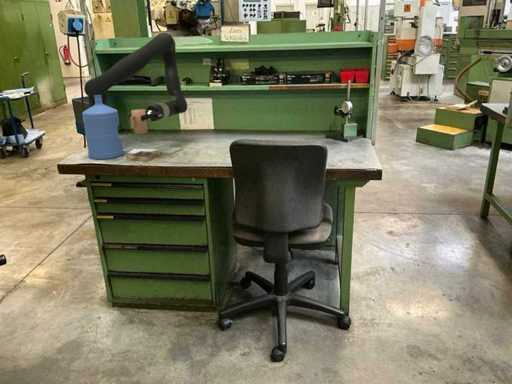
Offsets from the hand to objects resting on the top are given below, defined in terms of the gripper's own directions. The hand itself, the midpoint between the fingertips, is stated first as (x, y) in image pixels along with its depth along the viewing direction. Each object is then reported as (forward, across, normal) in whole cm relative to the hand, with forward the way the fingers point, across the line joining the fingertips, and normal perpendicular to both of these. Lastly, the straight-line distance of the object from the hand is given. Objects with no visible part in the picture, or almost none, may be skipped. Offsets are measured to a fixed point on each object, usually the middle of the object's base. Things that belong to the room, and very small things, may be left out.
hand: (135, 117), depth 183 cm
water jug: (0, -19, +19) cm, 27 cm away
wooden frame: (-2, 0, +19) cm, 19 cm away
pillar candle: (-1, 0, +7) cm, 7 cm away
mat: (-16, +4, +19) cm, 25 cm away
